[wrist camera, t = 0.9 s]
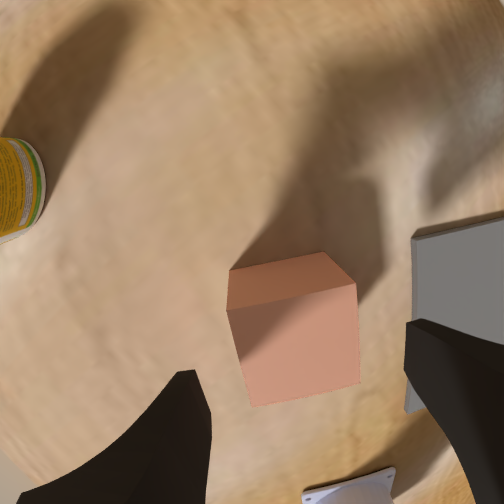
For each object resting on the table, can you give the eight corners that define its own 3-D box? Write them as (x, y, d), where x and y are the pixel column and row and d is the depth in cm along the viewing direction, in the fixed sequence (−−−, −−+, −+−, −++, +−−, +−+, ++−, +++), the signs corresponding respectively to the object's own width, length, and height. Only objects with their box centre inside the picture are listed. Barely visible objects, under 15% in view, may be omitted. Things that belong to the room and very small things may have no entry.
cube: (332, 332, 16) (360, 383, 12) (248, 350, 16) (252, 407, 12) (323, 250, 15) (356, 283, 11) (229, 269, 15) (226, 310, 11)
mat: (520, 353, 18) (524, 356, 17) (404, 409, 18) (407, 414, 17) (538, 208, 15) (544, 209, 14) (410, 238, 15) (416, 241, 14)
